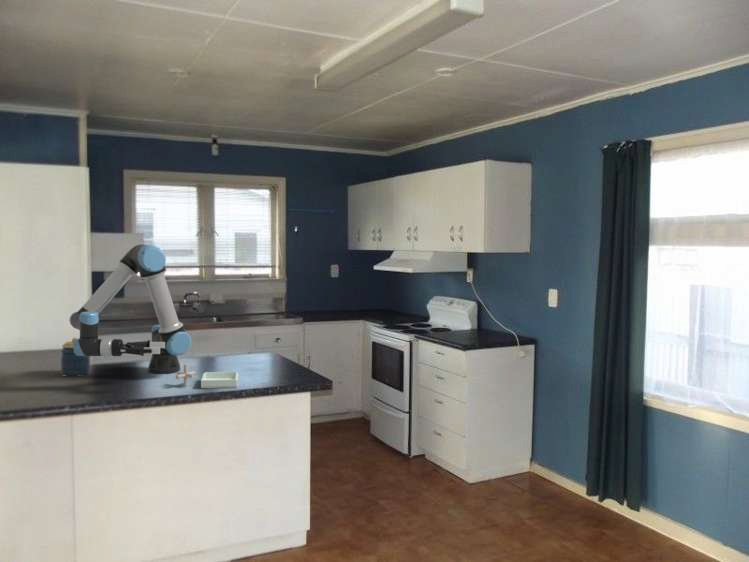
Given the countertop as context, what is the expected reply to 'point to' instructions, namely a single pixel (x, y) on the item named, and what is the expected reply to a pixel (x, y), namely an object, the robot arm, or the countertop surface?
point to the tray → (219, 380)
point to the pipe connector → (185, 374)
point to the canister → (73, 361)
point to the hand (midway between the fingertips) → (162, 347)
